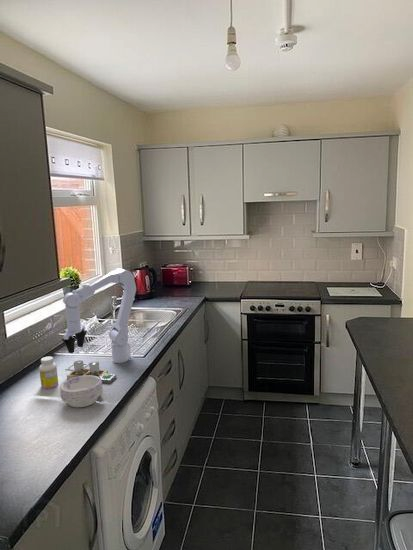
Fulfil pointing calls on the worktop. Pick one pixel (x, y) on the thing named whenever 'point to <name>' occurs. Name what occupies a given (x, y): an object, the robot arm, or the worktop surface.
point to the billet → (79, 368)
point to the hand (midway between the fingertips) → (76, 349)
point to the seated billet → (94, 368)
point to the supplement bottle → (48, 373)
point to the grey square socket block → (106, 380)
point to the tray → (73, 364)
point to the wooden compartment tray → (85, 373)
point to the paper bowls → (81, 390)
